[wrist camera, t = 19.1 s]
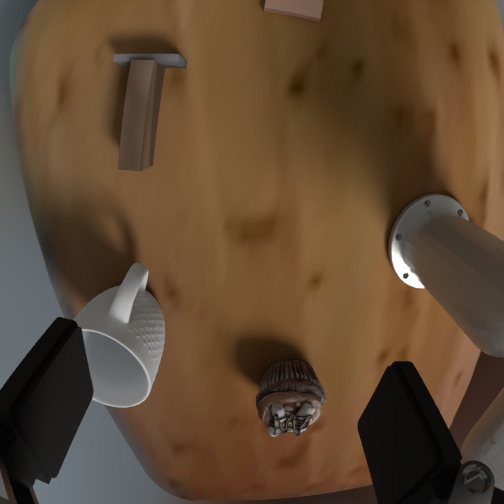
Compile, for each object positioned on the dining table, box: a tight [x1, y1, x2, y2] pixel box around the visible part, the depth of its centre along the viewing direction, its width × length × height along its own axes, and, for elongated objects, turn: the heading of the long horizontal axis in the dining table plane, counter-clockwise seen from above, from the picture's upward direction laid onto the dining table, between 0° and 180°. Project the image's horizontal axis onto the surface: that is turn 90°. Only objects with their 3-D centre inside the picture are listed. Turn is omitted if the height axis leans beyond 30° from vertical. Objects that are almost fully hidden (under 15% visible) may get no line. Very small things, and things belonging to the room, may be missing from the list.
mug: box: [73, 263, 165, 407], centre depth 34 cm, size 15×11×13 cm
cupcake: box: [256, 359, 326, 437], centre depth 41 cm, size 10×10×10 cm
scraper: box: [113, 54, 187, 171], centre depth 30 cm, size 7×12×4 cm, turn 171°
